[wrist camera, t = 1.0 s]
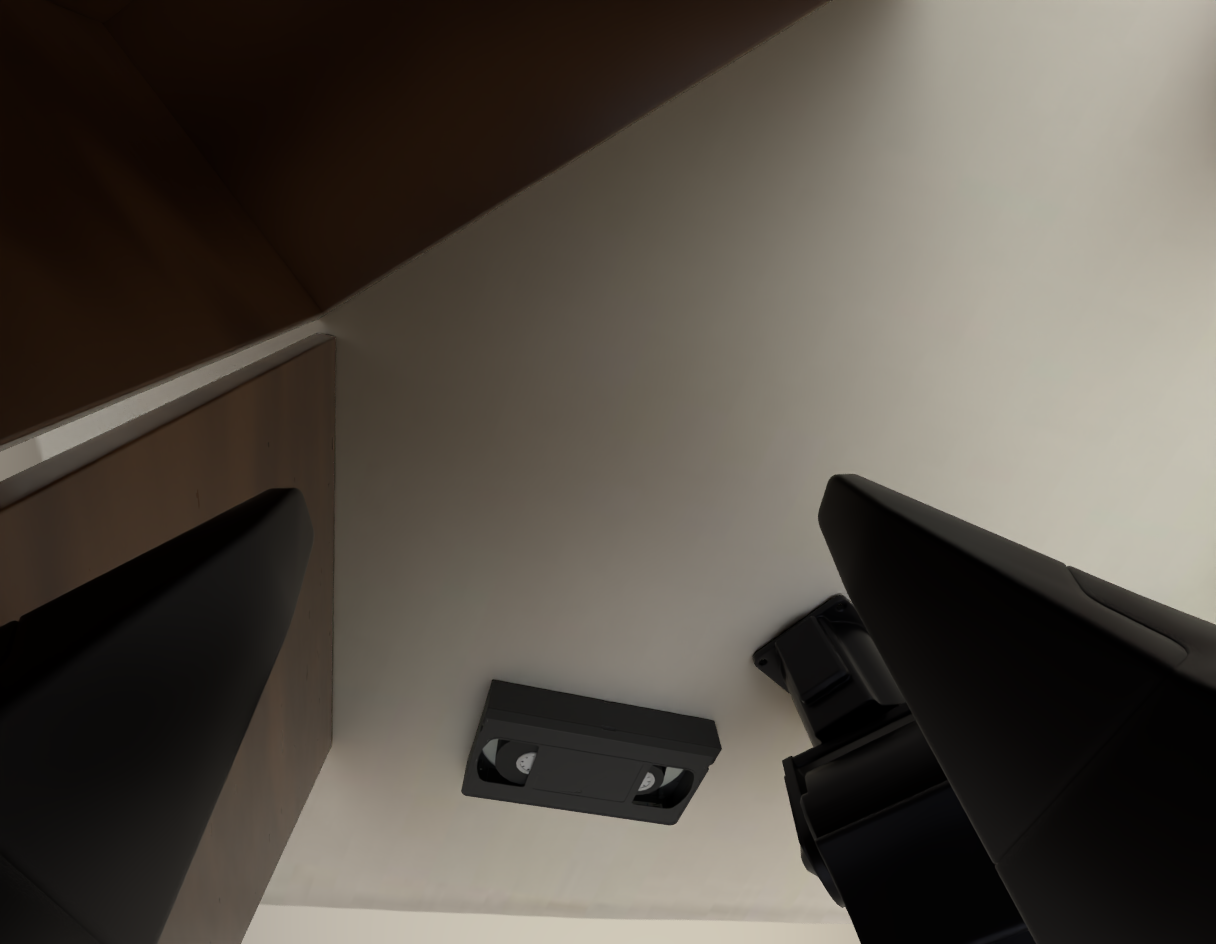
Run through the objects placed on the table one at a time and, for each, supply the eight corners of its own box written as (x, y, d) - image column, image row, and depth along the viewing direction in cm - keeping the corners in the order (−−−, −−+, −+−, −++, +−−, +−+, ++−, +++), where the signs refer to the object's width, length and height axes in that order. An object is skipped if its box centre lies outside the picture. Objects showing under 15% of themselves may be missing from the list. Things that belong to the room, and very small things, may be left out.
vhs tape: (465, 765, 35) (459, 795, 33) (492, 679, 31) (487, 707, 30) (670, 797, 37) (675, 826, 35) (714, 720, 34) (721, 748, 32)
